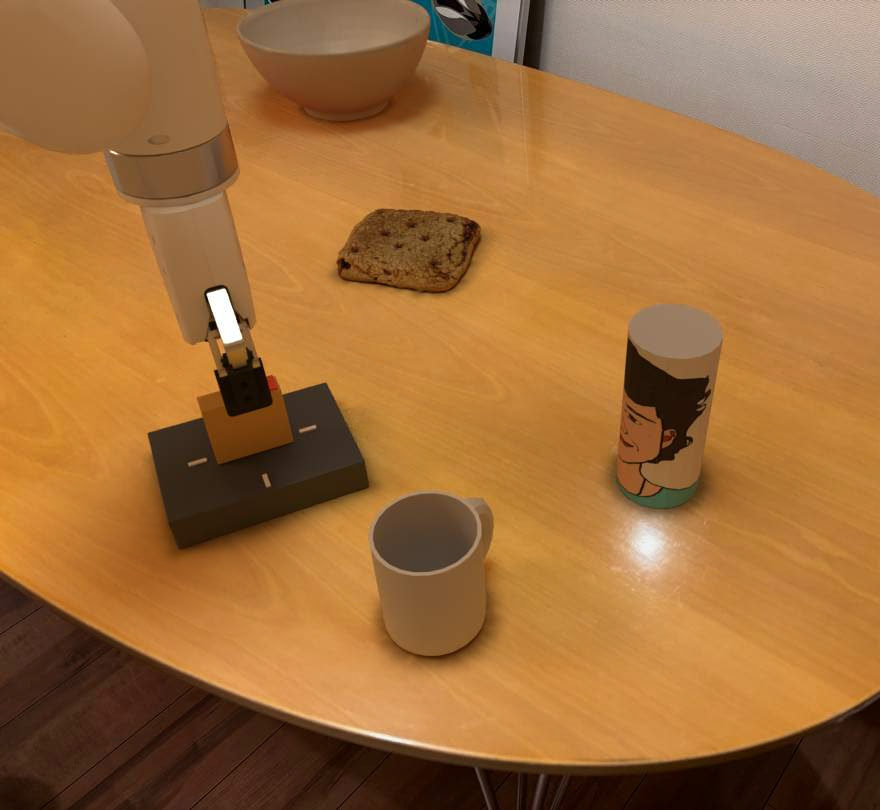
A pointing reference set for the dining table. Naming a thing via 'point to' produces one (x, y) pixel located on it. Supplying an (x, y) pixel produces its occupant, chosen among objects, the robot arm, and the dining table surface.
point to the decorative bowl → (336, 52)
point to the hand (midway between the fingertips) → (236, 370)
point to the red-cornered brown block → (245, 426)
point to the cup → (432, 569)
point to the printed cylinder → (666, 403)
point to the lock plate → (256, 471)
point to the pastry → (409, 249)
